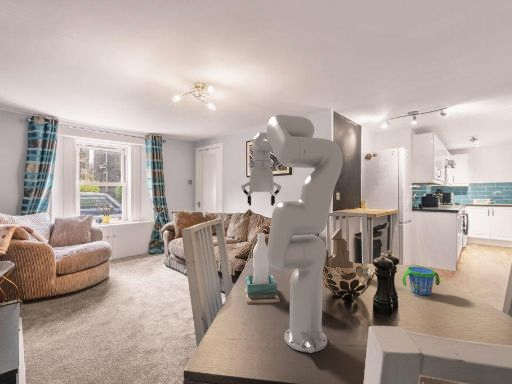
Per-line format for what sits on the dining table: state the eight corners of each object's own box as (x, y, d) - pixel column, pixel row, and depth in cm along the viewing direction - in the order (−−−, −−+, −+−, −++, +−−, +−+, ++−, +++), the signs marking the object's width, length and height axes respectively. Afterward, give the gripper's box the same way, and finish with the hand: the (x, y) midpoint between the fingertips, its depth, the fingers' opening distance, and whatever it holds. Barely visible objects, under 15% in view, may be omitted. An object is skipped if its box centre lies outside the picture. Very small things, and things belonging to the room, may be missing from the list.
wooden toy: (345, 270, 150) (345, 225, 149) (353, 274, 143) (353, 227, 143) (320, 273, 145) (321, 226, 144) (328, 277, 138) (328, 228, 138)
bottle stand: (279, 302, 107) (279, 287, 107) (247, 303, 106) (247, 288, 106) (273, 287, 123) (273, 274, 123) (244, 288, 122) (244, 275, 122)
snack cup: (408, 297, 113) (408, 273, 113) (396, 287, 124) (397, 265, 124) (447, 298, 112) (447, 274, 112) (432, 288, 123) (432, 266, 123)
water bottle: (250, 288, 119) (250, 232, 119) (265, 287, 121) (266, 231, 121) (255, 295, 112) (255, 235, 112) (271, 293, 114) (271, 234, 114)
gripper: (241, 164, 111) (241, 206, 111) (282, 165, 113) (282, 205, 113) (240, 166, 118) (240, 204, 119) (279, 166, 120) (279, 204, 121)
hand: (261, 205), depth 116 cm, fingers open, 9 cm apart
